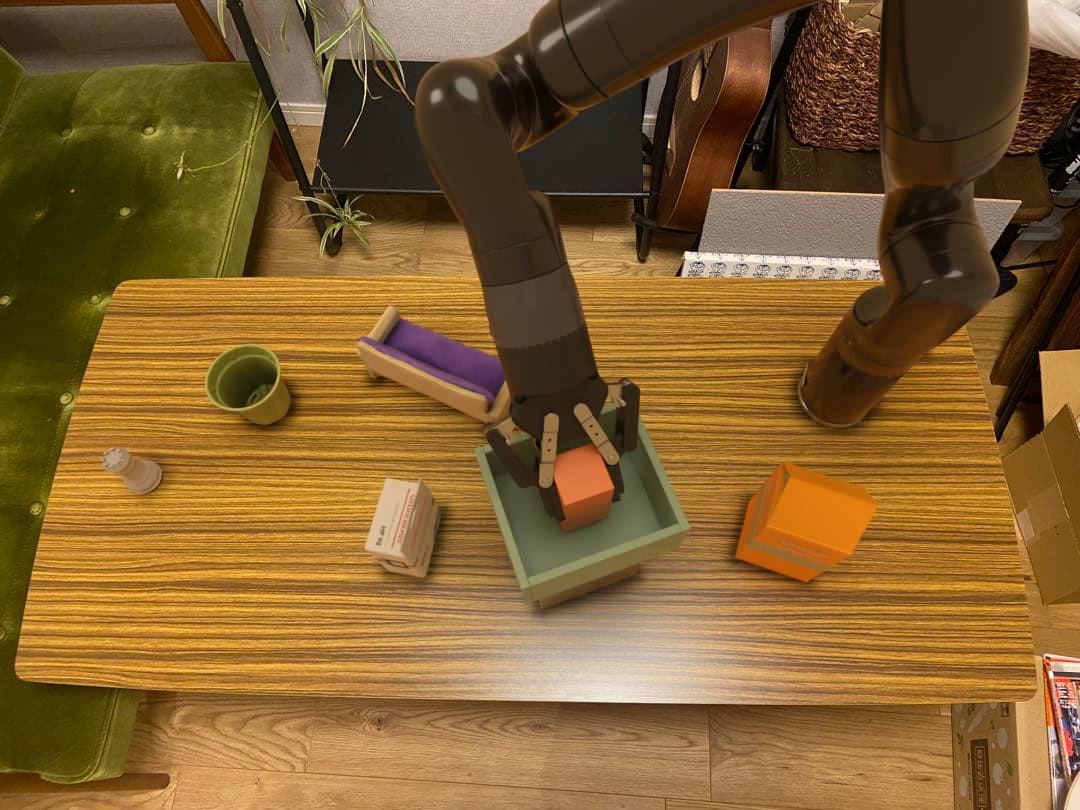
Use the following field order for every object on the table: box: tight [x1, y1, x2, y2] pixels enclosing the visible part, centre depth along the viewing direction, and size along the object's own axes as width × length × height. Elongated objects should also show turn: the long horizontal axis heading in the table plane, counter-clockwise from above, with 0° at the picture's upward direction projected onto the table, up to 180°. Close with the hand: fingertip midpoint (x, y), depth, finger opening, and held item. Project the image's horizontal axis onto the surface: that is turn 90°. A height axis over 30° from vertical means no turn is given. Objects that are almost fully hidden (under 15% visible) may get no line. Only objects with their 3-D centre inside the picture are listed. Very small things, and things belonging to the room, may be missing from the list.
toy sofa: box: [356, 305, 511, 424], centre depth 92 cm, size 21×9×10 cm, turn 64°
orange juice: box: [734, 461, 880, 583], centre depth 77 cm, size 8×9×20 cm
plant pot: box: [204, 343, 292, 426], centre depth 92 cm, size 9×9×9 cm
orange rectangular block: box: [553, 443, 615, 533], centre depth 64 cm, size 4×4×9 cm
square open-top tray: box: [473, 402, 692, 605], centre depth 67 cm, size 16×14×8 cm
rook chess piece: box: [100, 447, 163, 495], centre depth 88 cm, size 4×4×8 cm
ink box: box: [364, 477, 443, 578], centre depth 81 cm, size 9×5×15 cm, turn 168°
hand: (587, 506), depth 62 cm, fingers closed on orange rectangular block, 4 cm apart
